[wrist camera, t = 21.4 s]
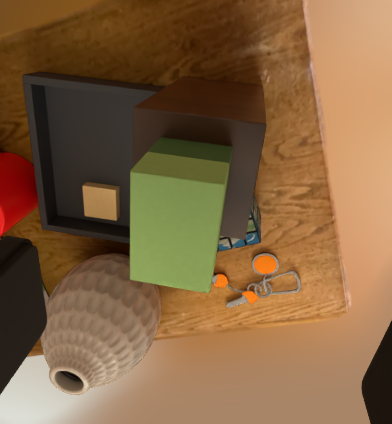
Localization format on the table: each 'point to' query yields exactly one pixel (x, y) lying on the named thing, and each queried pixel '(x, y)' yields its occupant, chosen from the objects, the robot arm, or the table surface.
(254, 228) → the puzzle
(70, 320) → the vase
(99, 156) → the pan
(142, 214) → the sponge
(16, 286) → the robot arm
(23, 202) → the mug
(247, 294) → the key chain
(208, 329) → the table surface
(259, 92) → the stand
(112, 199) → the tan square tile
